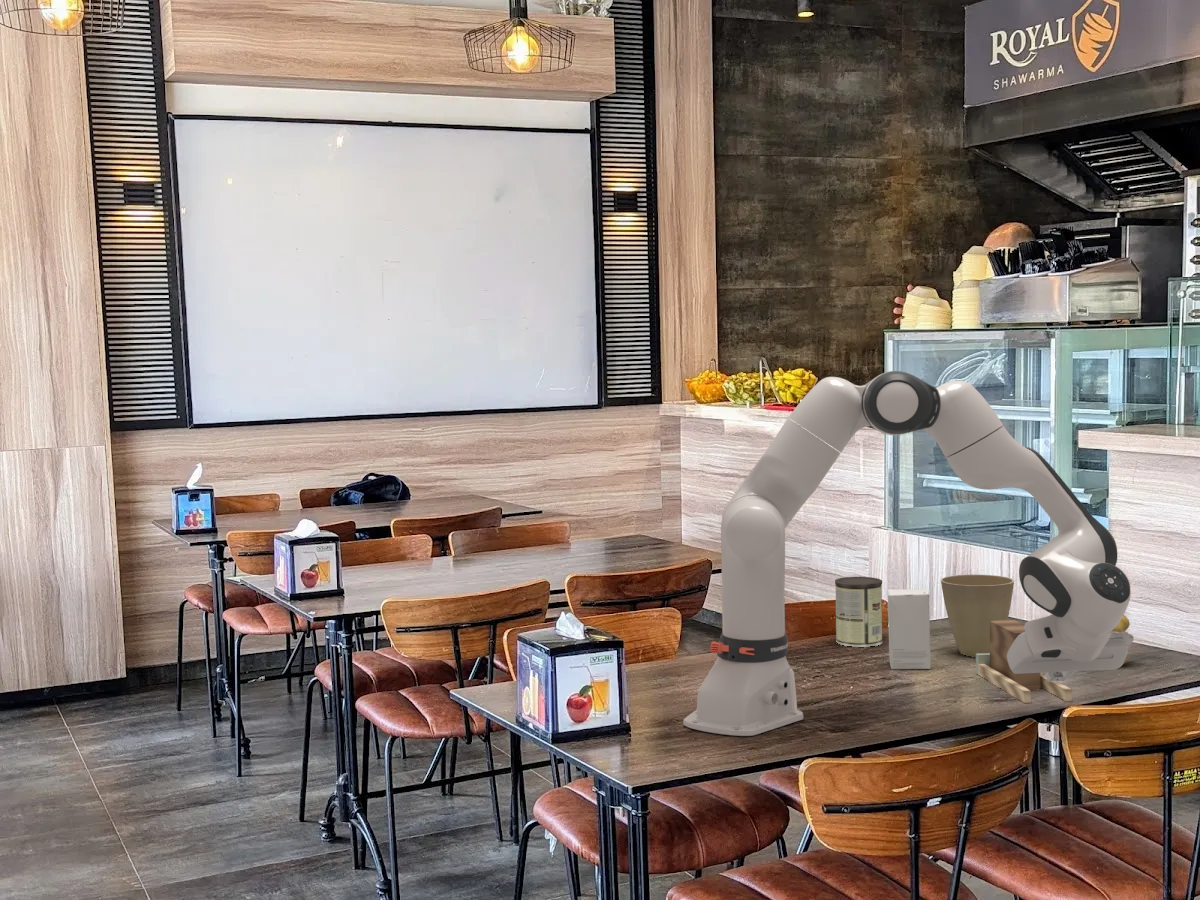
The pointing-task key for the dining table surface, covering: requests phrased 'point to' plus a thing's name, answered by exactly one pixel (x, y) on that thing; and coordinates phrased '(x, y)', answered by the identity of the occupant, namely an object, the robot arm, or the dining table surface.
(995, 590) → the plant pot
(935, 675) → the dining table surface
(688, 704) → the dining table surface
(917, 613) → the skincare box
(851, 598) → the coffee can
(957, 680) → the dining table surface
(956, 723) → the dining table surface
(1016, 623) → the block
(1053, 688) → the chute
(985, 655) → the end stop
